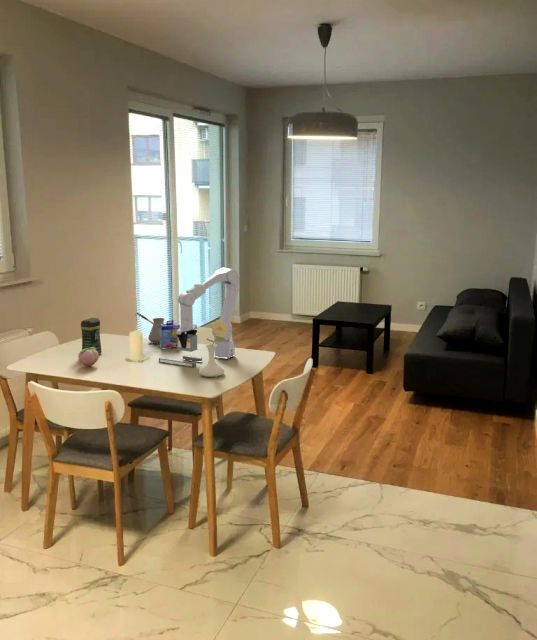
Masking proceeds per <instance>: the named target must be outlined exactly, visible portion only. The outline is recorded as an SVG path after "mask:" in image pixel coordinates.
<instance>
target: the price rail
mask: <svg viewBox="0 0 537 640" xmlns="http://www.w3.org/2000/svg"><path fill="white" fill-rule="evenodd" d="M183 359H185V360H183ZM186 360H192V361H186ZM193 361H202V362H203V357H197V356H192V355H185V354H184V355H183V356H182V360H181V359H176V358H175V359H174V358H167V357H161V356H160V357H159V358H158V363H161V362H165V363H164V364H167V363H172V364H171V365H174V364H178V365H177V366H180V365H185V366H184V367H187V366H191V367H190V368H193V367H195V366H196V367H197V362H193ZM196 367H195V368H196Z"/></svg>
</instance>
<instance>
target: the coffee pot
mask: <svg viewBox="0 0 537 640" xmlns="http://www.w3.org/2000/svg"><path fill="white" fill-rule="evenodd" d="M134 316H135V317H136V316H138V317H141V318H142V319H144V320H146V321H147V322H149V323H150V324H152V327H151V329H150V331H149V335H148V340H149V342H150V343H152V342H153V343H160V326H159V325H160V324H165V323H164V322H165V319H166V318H164V317H155V318H152V320H150V319H149V318H148V317H146V316H144V315H142V313H140V312H136V313H135V314H134ZM153 343H152V344H153Z"/></svg>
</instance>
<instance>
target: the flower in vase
mask: <svg viewBox="0 0 537 640" xmlns="http://www.w3.org/2000/svg"><path fill="white" fill-rule="evenodd" d="M211 329H212V330H211V333H212V332H213V333H214V334H215V336H216V338H214V340H212V339H209V338H206V340H207V341H208V342H210V343H207V344H205V347H206V348H207V351H208V361H207V362H206V364H204V365H203V366H201V367H200V368H199V370H198V373H199V375H201V376H202V377H203V376H204V377H206V378H207V377H209V378H210V377H211V378H212V377H213V378H215V377H219V376H222V375H224V374H225V369H224V368H223V366H221V365H220V364H219V363H217V361H215V358H214V355H215V348H216V346H217V345H216V344H215V340H216V339H217V340H218V341H219V342H222V341H224V340H225V339H224V338H223V337H224V336H225V335H226V334H227V331H228V330H227V329H228V327H227V326H226V324H225V323H224V322H223V321H221V320H220V321H219V319H217V320H215V322H213V323H212V325H211ZM217 336H218V337H217Z"/></svg>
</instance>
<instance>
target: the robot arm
mask: <svg viewBox="0 0 537 640" xmlns="http://www.w3.org/2000/svg"><path fill="white" fill-rule="evenodd" d="M240 276H241V275H240V274H239V272H238V271H237V270H236V269H235V268H228V267H225V266H223V267H222V266H221V267H220V268H219V269H217V270H216V271H215V272H214V273H213V274H212V275H211V276H210V277H208V278H207V279H206V280H204V281H203V282H202V283H200V282H199V283H194V284H193V286H192V287H191V288H189V289H187V290H186V291H184V292H181V293H180V294H179V296H178V298H177V302H178V303H179V309H180V310H179V311H180V314H179V315H180V317H179V318H180V328H179V329H178V330H176V335H177V336H178V338H179V340H180V343H181V347H182V348H186V344H187V337H188V335H189V334H192V335H197V333H198V325H197V324H195V323H194V318H193V307H194V306H193V305H194V304H195V302H196V300H198V299H199V298H200V297H202V296H204V295H205V294H206V291H207V290H208V289H209V288H211V287H213V286H214V285H215V284H217V283H219V282H223V283H224V285H225V287H227V290H226V292H225V298H224V301H223V304H222V308H221V312H220V314H219V318H218V320H219V321H220V320H221V321H223V322H224V323H225V324H226V326H227V327H228V329H227V330H228V331H227V334H226V335H225V336H224V337H223V338H224V339H225V340H224V341H222V342H219V341H218V340H217V339H216V340H215V338H216V336H215V334H214V333H213V332H212V331H211V334H212V336H213V337H214V340H215V342H214V344H216V345H217V346H216V348H215V351H214V355H215V356H218V357H227V358H229V357H231V356H233V355H235V356H236V351H235V349H236V347H235V342H234V340H231V338H232V336H233V325H232V322H231V320H232V316H233V312H234V309H235V305H236V303H237V298H238V295H239V290H240ZM217 337H218V336H217Z"/></svg>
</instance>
